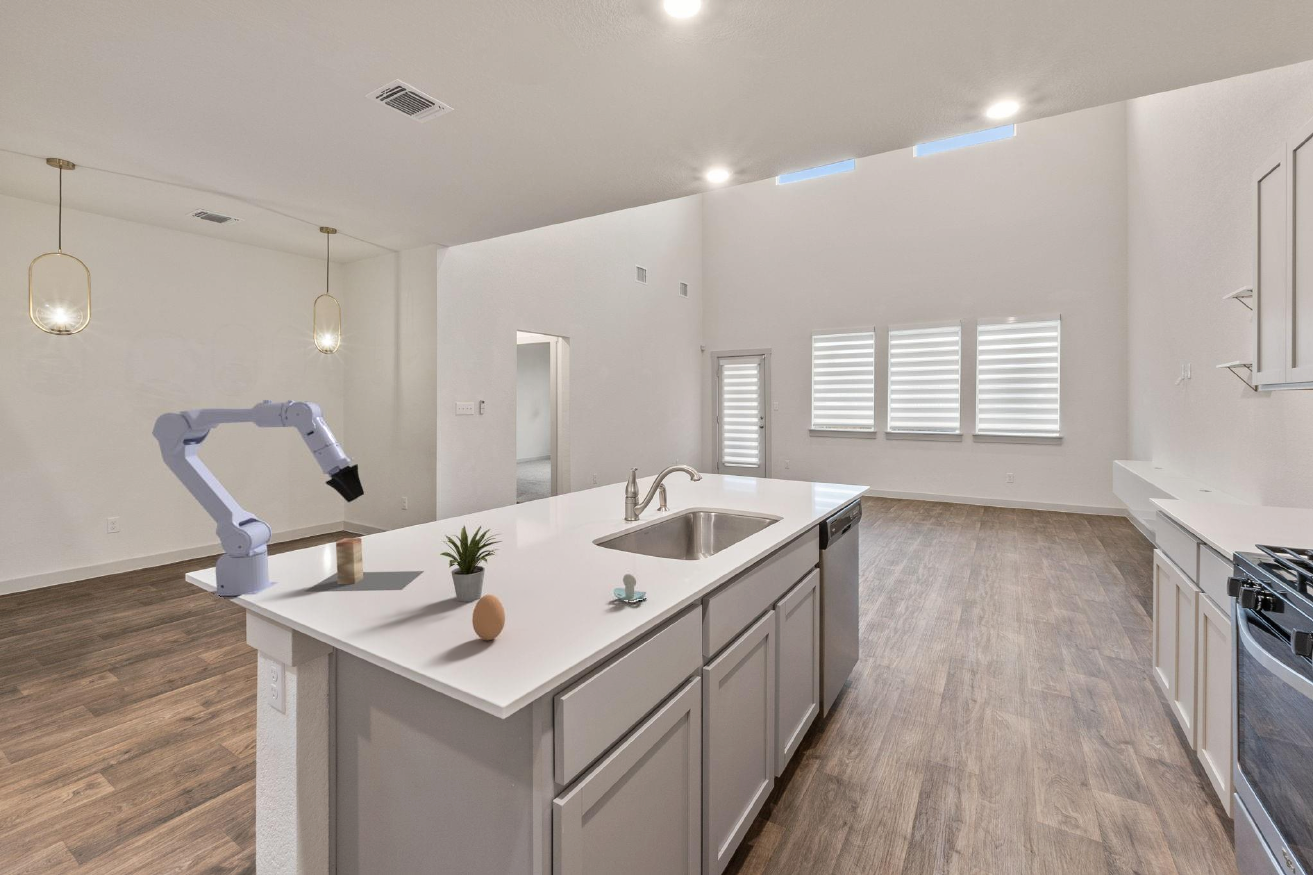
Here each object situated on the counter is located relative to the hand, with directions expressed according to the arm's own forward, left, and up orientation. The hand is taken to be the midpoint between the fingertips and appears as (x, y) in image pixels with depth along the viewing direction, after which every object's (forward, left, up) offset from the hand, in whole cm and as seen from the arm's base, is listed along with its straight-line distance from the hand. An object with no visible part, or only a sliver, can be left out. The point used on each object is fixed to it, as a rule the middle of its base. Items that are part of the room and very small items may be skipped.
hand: (356, 498), depth 134 cm
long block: (-3, +1, -20) cm, 21 cm away
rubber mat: (+1, +1, -21) cm, 21 cm away
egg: (+39, -33, -21) cm, 55 cm away
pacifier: (+65, -14, -21) cm, 70 cm away
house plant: (+29, -12, -21) cm, 38 cm away
